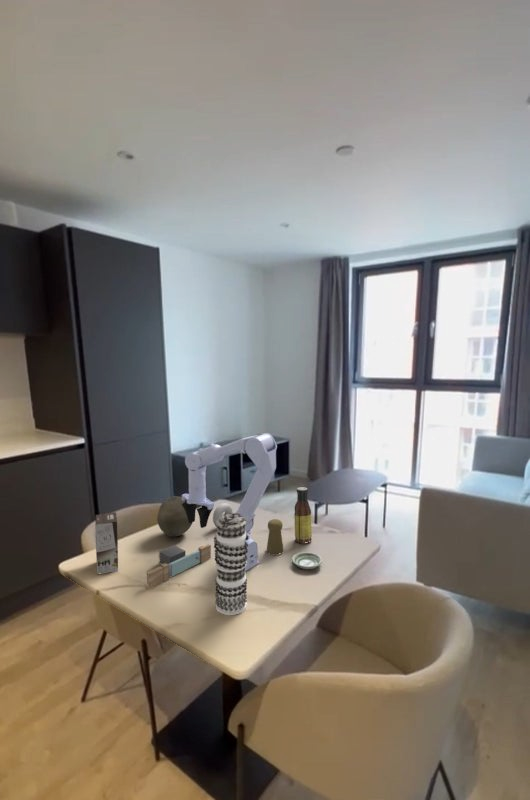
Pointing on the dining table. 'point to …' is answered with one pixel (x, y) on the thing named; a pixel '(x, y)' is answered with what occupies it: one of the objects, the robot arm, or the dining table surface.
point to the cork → (275, 537)
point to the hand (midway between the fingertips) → (197, 524)
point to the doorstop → (171, 554)
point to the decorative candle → (231, 564)
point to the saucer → (306, 560)
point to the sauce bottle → (302, 517)
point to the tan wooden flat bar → (162, 572)
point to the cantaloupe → (173, 517)
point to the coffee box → (106, 542)
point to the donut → (221, 511)
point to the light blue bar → (184, 563)
